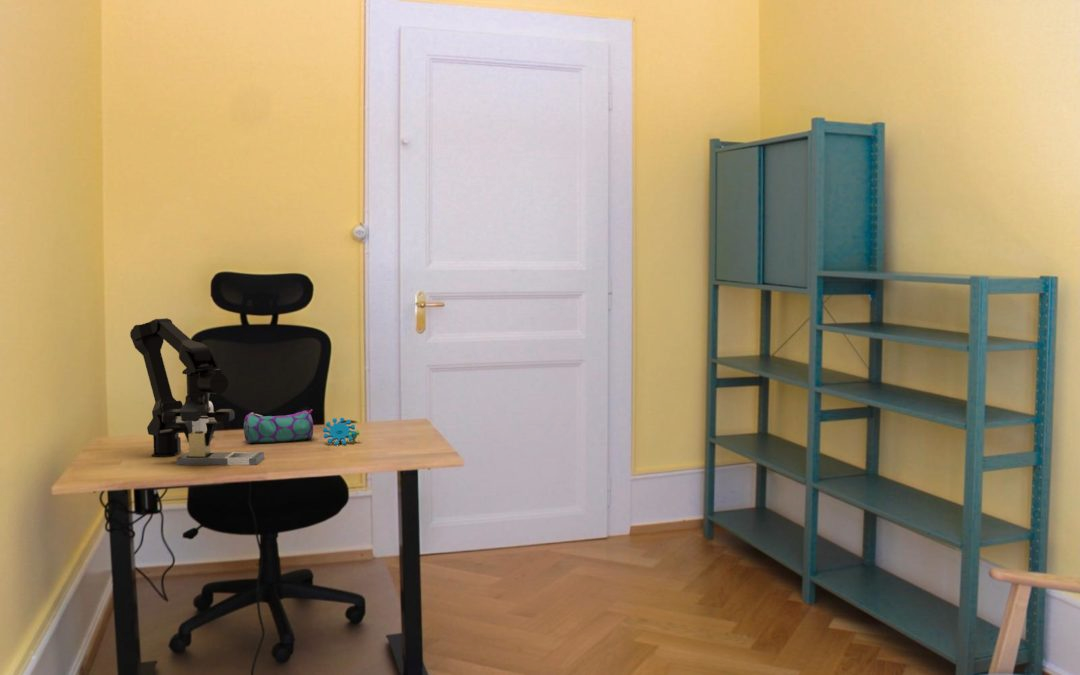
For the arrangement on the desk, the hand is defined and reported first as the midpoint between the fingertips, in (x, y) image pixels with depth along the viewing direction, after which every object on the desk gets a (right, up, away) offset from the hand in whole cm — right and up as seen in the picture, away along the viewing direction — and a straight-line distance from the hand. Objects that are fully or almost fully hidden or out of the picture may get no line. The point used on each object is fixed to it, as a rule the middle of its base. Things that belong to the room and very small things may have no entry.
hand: (199, 445), depth 270 cm
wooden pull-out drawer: (0, -3, 0) cm, 3 cm away
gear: (+35, -3, +26) cm, 44 cm away
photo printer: (-11, -2, +32) cm, 34 cm away
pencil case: (+14, -2, +30) cm, 33 cm away
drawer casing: (+6, -5, +1) cm, 7 cm away
